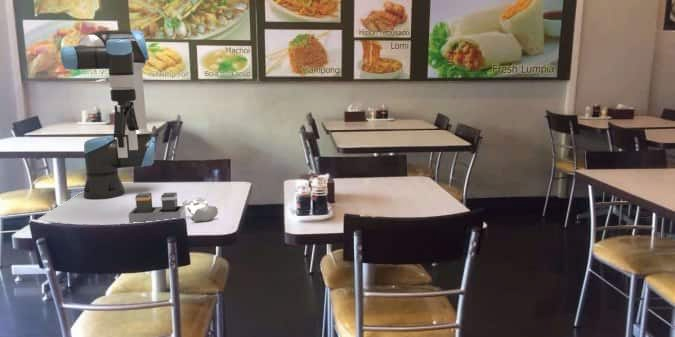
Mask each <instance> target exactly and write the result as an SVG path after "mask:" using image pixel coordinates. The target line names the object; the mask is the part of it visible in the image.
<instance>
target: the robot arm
mask: <svg viewBox="0 0 675 337" xmlns="http://www.w3.org/2000/svg"><path fill="white" fill-rule="evenodd" d="M60 59H61V65H62V68H63V69H64V70H70V71H71V70H73V71H76V70H108V77H109V78H107V81H108V82H109V87H110V88H111V90H109V91H110V100H111V101H112V102H116V103H117V105H114V123H113V124H114V126H113V134H112V135H104V136H103V135H102V136H98V137H94V138H90V139H87V140H86V141H85V142H84V143H83V154H84V160H85V171H86V172H85V173H86V179H85V184H84V187H83V188H84V189H83V197H84V198H85V199H89V200H91V199H92V200H101V199H111V198H115V197H120V196H123V195H124V194H125V187H124V185H123V183H122V180H121V177H120V176H119V169H126V168H127V169H128V168H143V167H149V166H152V165H153V164H154V162H155V153H156V152H155V149H156V148H155V147H156V137H155V136H152V132H151V131H150V130H149V129H147V116H146V114H147V113H146V104H145V103H146V102H145V91H144V90H145V88H144V78H143V76H144V75H143V69H144V68H145V66H146V61H149V60H150V57H149V51H148V48H147V43H146V38H145V34H144V32H142V31H141V30H134V29H133V30H132V29H129V30H128V29H126V30H119V29H118V30H103V29H102V30H98V31H93V32H90V33H87V34H85V35H83V36H82V37H81V38H80V39H78V42H77V44H76V45H73V46H72V45H69V46H68V45H66V46H63V47H61V49H60Z"/></svg>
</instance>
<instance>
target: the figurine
mask: <svg viewBox="0 0 675 337" xmlns="http://www.w3.org/2000/svg"><path fill="white" fill-rule="evenodd" d="M202 202H204V204H205V205H203V204H201V203H202ZM182 206H186V207H185V210H187V211H188V214H189V215H190V216H191V221H192V222H193V223H199V221H200V222H208V221H211V220H213V219H214V218H216V217H217V215H218V213H219V211H218V207H216V206H214V205H209V202H208V201H207V200H206V199H205V198H204V199H203V198H202V197H196V199H195V200H193V201H191V200H190V201H188V202H187V200H183V201H182Z"/></svg>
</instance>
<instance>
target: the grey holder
mask: <svg viewBox="0 0 675 337" xmlns="http://www.w3.org/2000/svg"><path fill="white" fill-rule="evenodd" d="M160 200H161V206H152V209H153V212H146V213H137V208H136V207H134V209H132V210H131V211H130V212H129V213H128V222H129V223H133V222H146V221H156V220H164V219H172V218H180V217H185V218H186V219H187V214H186V205H178V204H179V203H178V192H177V191H176V192H163V194H162V195H161V197H160Z"/></svg>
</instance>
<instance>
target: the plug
mask: <svg viewBox="0 0 675 337" xmlns="http://www.w3.org/2000/svg"><path fill="white" fill-rule="evenodd" d="M134 199H135V208H137V213H146V212H153V209H152V207H153V200H152V199H153V194H152V192H141V193H140V192H139V193H137V194H136V195H135V197H134Z"/></svg>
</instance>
